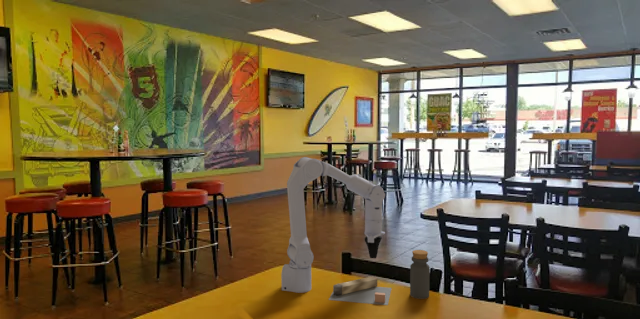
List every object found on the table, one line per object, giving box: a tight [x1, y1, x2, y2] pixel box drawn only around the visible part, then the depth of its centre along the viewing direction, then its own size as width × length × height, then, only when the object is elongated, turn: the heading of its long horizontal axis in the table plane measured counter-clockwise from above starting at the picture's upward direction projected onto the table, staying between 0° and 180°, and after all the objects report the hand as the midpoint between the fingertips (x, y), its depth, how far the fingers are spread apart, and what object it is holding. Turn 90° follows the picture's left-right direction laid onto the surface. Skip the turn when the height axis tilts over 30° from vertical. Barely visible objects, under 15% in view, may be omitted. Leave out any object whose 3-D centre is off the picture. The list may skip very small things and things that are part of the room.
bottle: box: [409, 249, 431, 300], centre depth 136 cm, size 6×6×15 cm
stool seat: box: [328, 286, 392, 306], centre depth 138 cm, size 18×14×1 cm
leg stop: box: [375, 292, 385, 303], centre depth 132 cm, size 3×2×2 cm, turn 76°
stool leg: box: [332, 275, 378, 295], centre depth 141 cm, size 16×3×2 cm, turn 121°
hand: (373, 257), depth 151 cm, fingers closed
